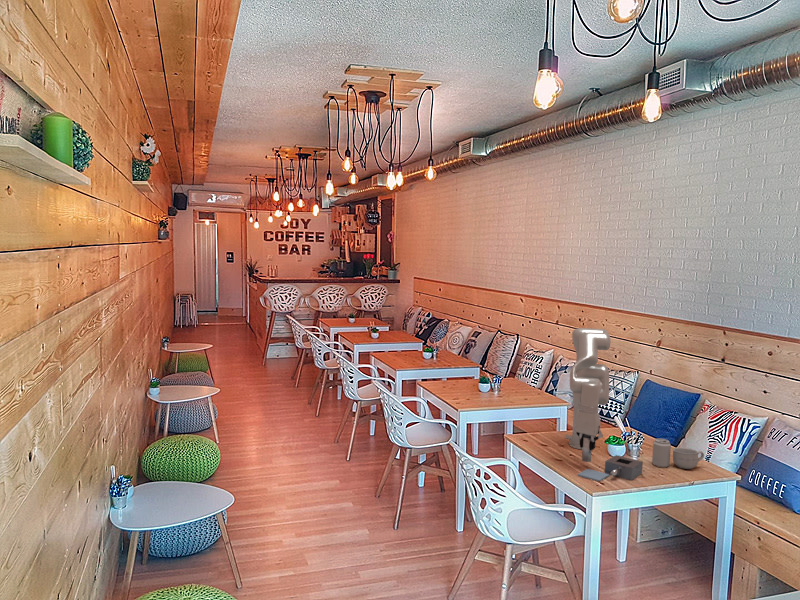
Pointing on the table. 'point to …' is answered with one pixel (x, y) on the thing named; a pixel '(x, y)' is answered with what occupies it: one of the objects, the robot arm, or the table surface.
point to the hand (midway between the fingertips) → (587, 447)
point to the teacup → (686, 457)
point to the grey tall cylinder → (586, 448)
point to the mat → (593, 475)
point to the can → (661, 453)
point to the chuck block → (623, 467)
